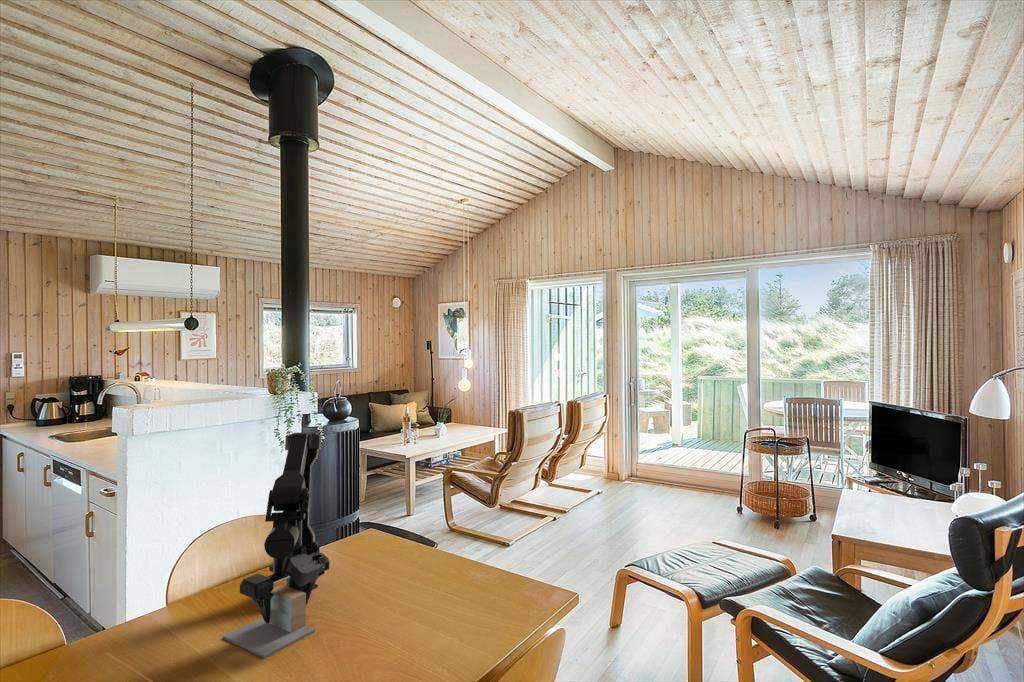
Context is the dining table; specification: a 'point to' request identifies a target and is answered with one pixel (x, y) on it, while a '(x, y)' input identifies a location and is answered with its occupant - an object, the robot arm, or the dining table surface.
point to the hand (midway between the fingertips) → (286, 613)
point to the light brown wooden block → (288, 608)
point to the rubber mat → (265, 637)
